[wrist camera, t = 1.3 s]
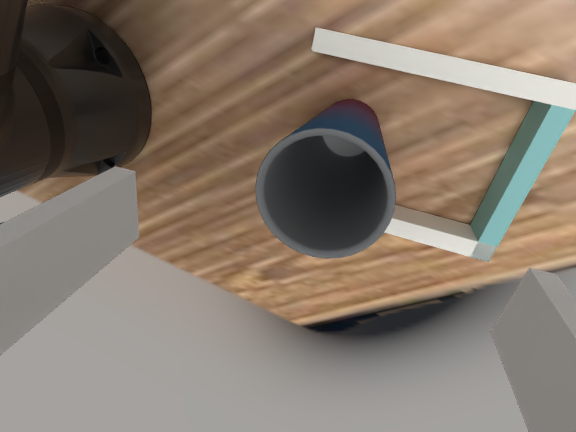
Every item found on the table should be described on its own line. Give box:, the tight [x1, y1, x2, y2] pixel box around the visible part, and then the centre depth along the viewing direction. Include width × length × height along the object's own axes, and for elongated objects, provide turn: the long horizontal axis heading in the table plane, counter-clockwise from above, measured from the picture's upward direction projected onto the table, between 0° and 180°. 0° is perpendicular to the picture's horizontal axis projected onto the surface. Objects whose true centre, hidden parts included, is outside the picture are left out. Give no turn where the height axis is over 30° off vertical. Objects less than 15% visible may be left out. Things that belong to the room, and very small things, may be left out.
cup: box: [256, 99, 396, 259], centre depth 24 cm, size 7×7×15 cm
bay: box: [311, 28, 576, 262], centre depth 28 cm, size 18×14×3 cm
